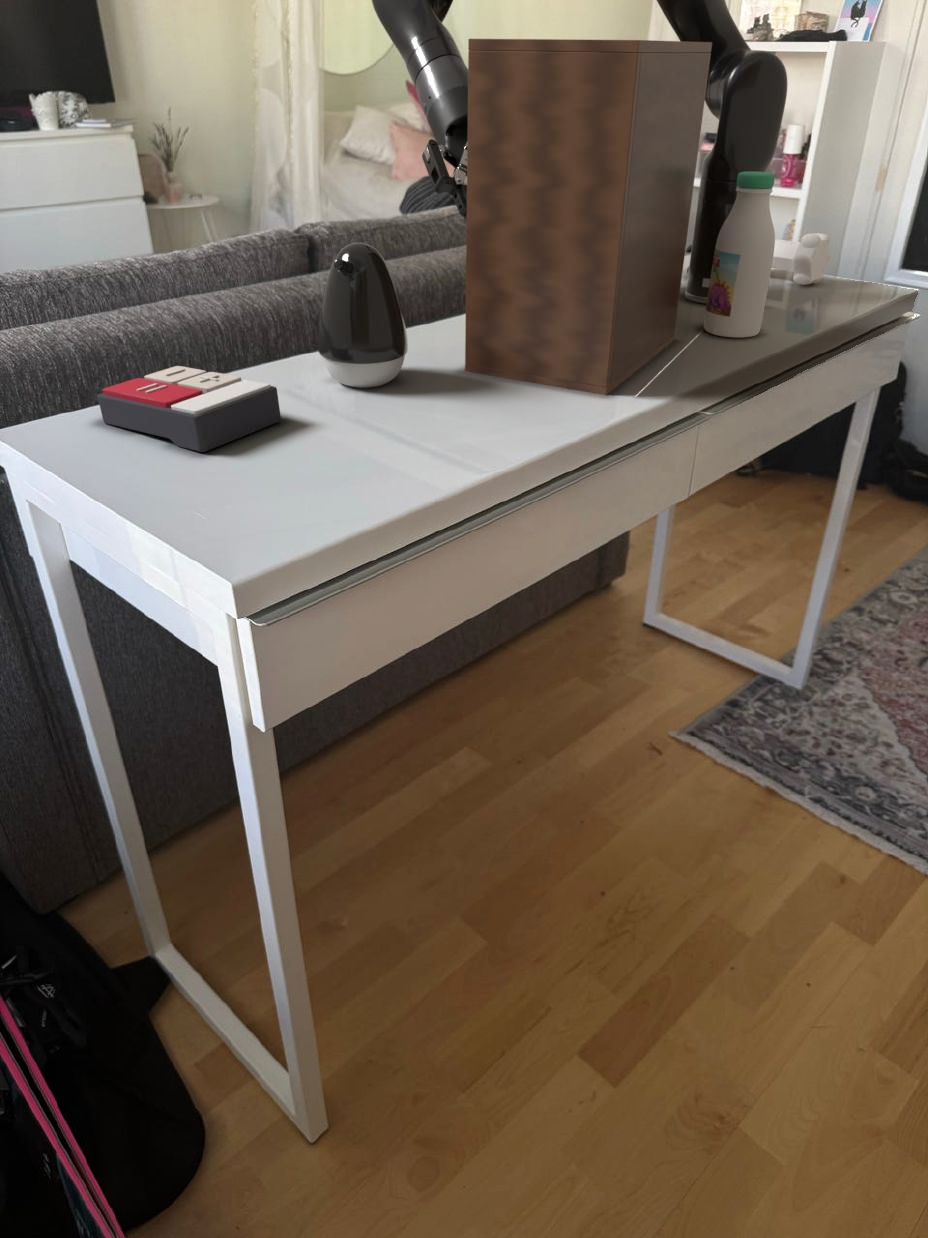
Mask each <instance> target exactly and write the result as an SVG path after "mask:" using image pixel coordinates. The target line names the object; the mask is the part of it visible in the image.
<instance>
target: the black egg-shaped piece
mask: <svg viewBox="0 0 928 1238" xmlns="http://www.w3.org/2000/svg"><path fill="white" fill-rule="evenodd" d="M397 289H398V288H397V286H396V283H395V280H394V278H393V276H392V273H391V270H390V268H389V266H388V264H387V262H386V261H385V258H384V257H383V256H382V254H381V253H380V252H379V250H378V249H376V248H375V247H374V246H372V245H370V244H368V243H366V242H365V243H364V242H352V243H350V244H347V245H345V246H344V247H343V248H341V249H340V250H339V251H338V253H337V254H336V256H335V258H334V260H333V262H332V264H331V266H330V269H329V272H328V275H327V278H326V281H325V287H324V290H323V294H322V299H321V305H320V312H319V320H318V333H317V348H318V354H319V356H321V358H322V361H323V364H324V367H325V369H326V370H327V372H328V373H329V375H330V376H331V377H332V378H333V379H334V380H336V381H337V382H338V383H340V384H343V385H345V386H347V387H351V388H358V389H367V388H368V389H370V388H376V387H377V388H378V387H381V386H384V385H386V384H388V383H389V382H391V381H393V380H394V379H395V378H396V377H397V376H398V374H399V373H400V371H401V370H402V367H403V365H404V361H405V356H406V354H407V353H408V351H409V344H408V343H409V342H408V340H409V339H408V332H407V327H406V321H405V315H404V311H403V307H402V304H401V299H400V296H399V293H398V290H397Z"/></svg>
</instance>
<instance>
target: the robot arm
mask: <svg viewBox="0 0 928 1238" xmlns="http://www.w3.org/2000/svg"><path fill="white" fill-rule="evenodd" d="M453 2H454V0H371V3H372V7H373V10H374V12H375V14H376V16H377V18H378V20H379V22H380V23H381V26H382V27H383V29H384V30H385V33H386V34H387V35H388V37H389V38H390V40H391V42H392V43H393V45H394V46H395V48H396V50H397V51H398V52H399V54H400V56H401V57H402V59H403V61H404V64H405V67H406V69H407V72H408V74H409V77H410V79H411V82H412V84H413V86H414V88H415V91H416V93H417V97H418V102H419V104H420V107H421V110H422V112H423V114H424V116H425V119H426V121H427V124H428V125H429V128H430V131H431V133H432V135H433V137H434V139H432V138H431V139H429V140H428V142H427V143H426V146H425V148H424V149H423V153H422V155H421V158H422V160H423V163H424V166H425V170H426V172H427V174H428V178H429V180H430V183H431V185H432V188H433V190H434V192H435V193H437V194H439V195H440V194H442V193H447V194H448V195H449V196H450V197H451V198H452V199H453V201H454V204H455V206H456V209H457V211H458V213H459V215H460V216H461V217H462V218H464V219H463V220H464V221H466V222H467V184H464V183H465V180H466V178H467V142H468V66H467V64H466V63H465V62H464V61H465V60H464V59H463V57H462V54H461V51H460V50H459V48H458V45H457V43H456V41H455V39H454V37H453V36H452V34H451V32H450V31H449V30H448V28H447V27H446V26H445V25H444V24H443V22H444V20H445V19H446V17H447V15H448V13H449V11H450V9H451V7H452V5H453ZM656 2H657V5H658V6H659V8H660V10H661V11H662V13H663V15H664V17H665V19H666V20H667V22H668V23H669V25H670V27H671V28H672V30H673V31H674V33H675V35H676V37H677V39H678V40H679V41H683V42H712V48H711V55H710V63H709V71H708V79H707V86H706V94H705V102H704V103H705V104H706V106H707V109H708V110H709V111H710V113H711V114H712V115H713V116H714V117H715V118H716V119H717V120H718V124H717V130H716V136H715V141H714V144H713V146H712V148H711V150H710V151H709V152H708V153H707V154H706V155H705V156H704V158H703V161H702V167H701V175H700V176H701V177H700V180H699V181H700V182H699V190H698V197H697V205H696V213H695V220H694V227H693V228H694V229H693V235H692V243H691V244H690V245H689V246H687V247H686V249H685V254H690V258H689V266H688V267H687V268H686V273H687V280H686V288H685V289H684V298H685V299H686V300H687V301H690V302H694V303H698V304H702V305H706V304H707V297H708V291H709V284H710V277H711V271H712V264H713V258H714V252H715V247H716V242H717V238H718V235H719V232H720V230H721V228H722V226H723V224H724V222H725V221H726V219H727V217H728V215H729V214H730V212H731V210H732V208H733V205H734V203H735V200H736V197H737V191H736V188H737V178H738V174H739V173H741V172H767V173H768V169H769V166H770V164H771V163H772V161H773V159H774V157H775V154H776V150H777V146H778V142H779V137H780V132H781V128H782V122H783V118H784V113H785V109H786V108H785V107H786V102H787V95H788V74H787V70H786V67H785V64H784V62H783V61H782V59H780V57H779V56H778V55H776V54H775V53H773V52H770V51H768V50H760V49H751V48H750V46H749V44H748V43H747V42H746V40H745V38H744V37H743V35H742V33H741V32H740V30H739V28H738V26H737V24H736V22H735V21H734V19H733V18H732V15H731V13H730V11H729V8H728V5H727V2H726V0H656ZM445 162H447V163H448V164H450V166H451V167H453V171H452V175H450V173H449V171H448V168H447V165H446V163H445Z"/></svg>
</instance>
